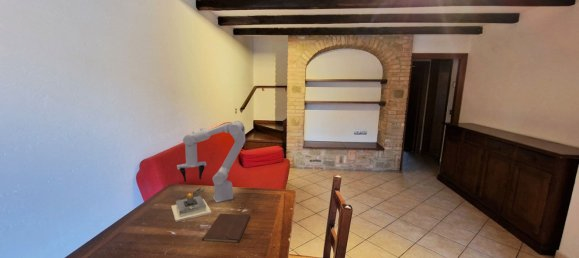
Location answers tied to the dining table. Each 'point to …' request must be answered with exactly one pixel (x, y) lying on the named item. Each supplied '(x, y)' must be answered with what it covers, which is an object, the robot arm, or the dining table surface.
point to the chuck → (190, 206)
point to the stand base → (178, 218)
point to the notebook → (227, 228)
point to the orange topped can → (190, 198)
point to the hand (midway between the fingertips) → (192, 180)
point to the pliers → (193, 193)
